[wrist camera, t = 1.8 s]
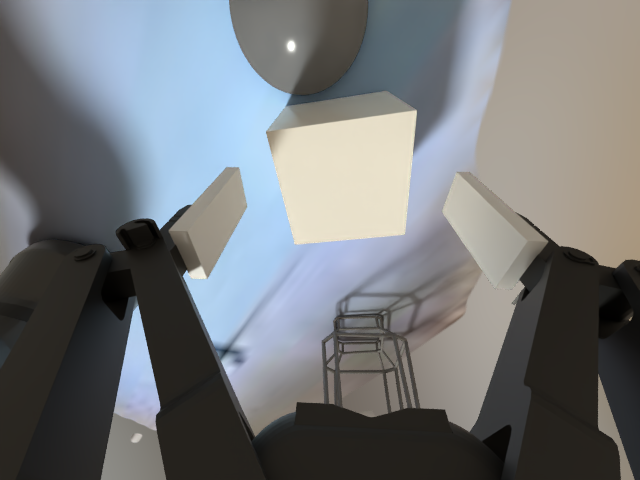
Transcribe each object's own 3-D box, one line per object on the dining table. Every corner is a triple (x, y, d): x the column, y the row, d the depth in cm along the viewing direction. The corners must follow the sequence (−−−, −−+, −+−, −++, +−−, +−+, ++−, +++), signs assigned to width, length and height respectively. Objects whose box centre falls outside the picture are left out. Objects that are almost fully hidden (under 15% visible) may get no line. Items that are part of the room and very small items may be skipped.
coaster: (246, 93, 21) (243, 94, 21) (216, -91, 15) (212, -98, 15) (359, 94, 21) (360, 95, 21) (375, -92, 15) (378, -99, 14)
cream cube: (303, 194, 27) (295, 244, 20) (285, 106, 22) (265, 131, 15) (383, 185, 26) (404, 234, 19) (386, 90, 21) (417, 110, 14)
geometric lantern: (409, 302, 39) (612, 924, 11) (395, 351, 48) (485, 749, 21) (311, 303, 39) (274, 886, 12) (317, 351, 49) (303, 735, 22)
